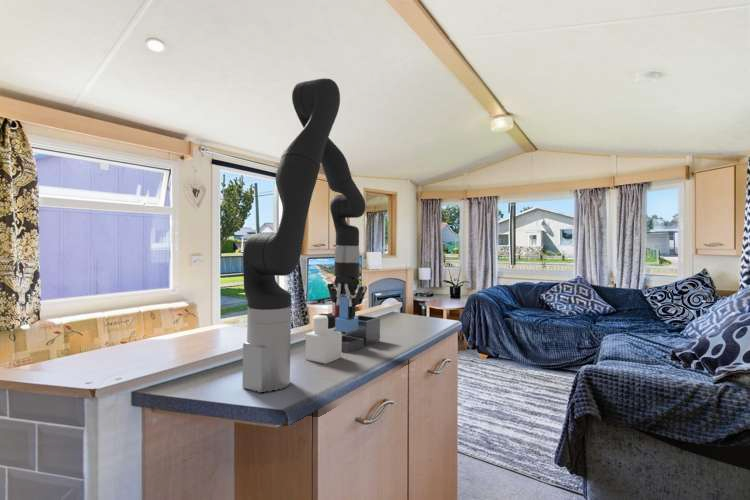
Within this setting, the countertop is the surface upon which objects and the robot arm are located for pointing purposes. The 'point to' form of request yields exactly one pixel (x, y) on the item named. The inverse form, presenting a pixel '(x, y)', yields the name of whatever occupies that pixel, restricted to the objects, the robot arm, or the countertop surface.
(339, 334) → the medicine bottle
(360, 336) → the grey square tube
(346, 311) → the plug
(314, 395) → the countertop surface
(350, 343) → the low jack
